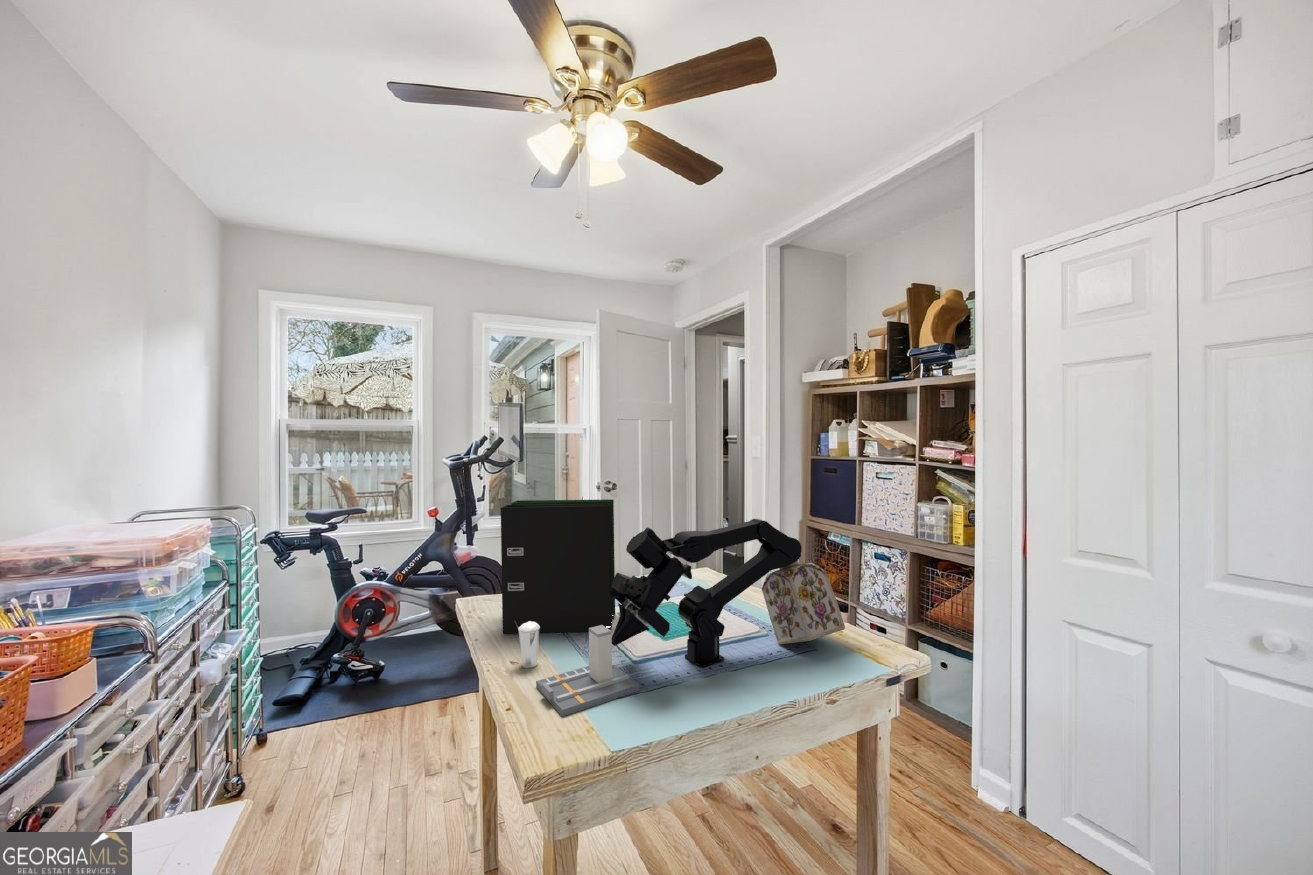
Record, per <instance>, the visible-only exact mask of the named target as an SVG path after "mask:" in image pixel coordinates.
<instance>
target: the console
mask: <svg viewBox="0 0 1313 875" xmlns="http://www.w3.org/2000/svg"><path fill="white" fill-rule="evenodd" d="M535 682H536V683H535V686H536V689H537V691H539V692H540V694H542V695H543V696H544V698H545V699H546V700H547V702H549V703H550V705H552V707H553V708H554V709H555V710H556V711H557V712H558V713H559V715H560V717H566V716H568V715H572V714H574V713H579V712H581V711H584V710H586V709H590V708H592V707H596V706H597V705H601V704H603V703H607V702H609V701H614V700H616V699H618V698H621V697H624V696H628V695H630V694H633V693H636V692H639V691H640V684H639V683H638V682H637V681H635V680H634V679H633V678H631V677H630V675H628V674H627V673H625V672H624V671H622V670H621V669H619V667H617V666H615V664H614V663H613V662H612V679H611V680H607V681H604V682H601V683H597V682H596V681H595V680H594V679H593V678H592V677H590V670H589V665H587V666H584V667H580V668H577V669H574V670H569V671H566V672H563V673H559V674H554V675H553V676H549V677H545V678H542V679H538V680H536V681H535Z"/></svg>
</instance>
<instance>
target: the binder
mask: <svg viewBox="0 0 1313 875" xmlns="http://www.w3.org/2000/svg"><path fill="white" fill-rule="evenodd" d="M614 502H615V501H614V499H544V500H543V499H538V500H537V499H533V500H531V499H530V500H529V499H526V500H525V499H523V500H522V499H521V500H515V501H513V502H511V503H510V504H505V505H504V506H502V507H500V542H501V543H500V548H501V549H500V552H501V557H500V558H501V604H502V605H501V606H502V607H501V610H502V616H501V618H502V619H501V620H502V635H503V636H504V635H506V636H507V635H508V636H509V635H519V630H518V627H520V626H521V625H522V624H523V623H527V622H528V621H531V622H536V623H537V624H539V626H540V633H539V635H540V634H544V635H545V634H552V635H553V634H589V628H591V627H595V626H600V625H603V626H605V627H606V626H611V628H608V629H609V630H611V631H612V628H613V620H615V616H616V599H615V598H614V597H613V596H612V595H611V594H610V593H611V592H612V591H613V590H614V588H612V587H611V586H612V583H613V581H614V578H615V576H616V571H615V570H616V568H615V561H616V560H615V519H614V518H615V512H614V511H615V510H614V509H615V507H614ZM612 615H614V616H612ZM515 621H516V623H517V625H518V627H517V625H516V623H515ZM611 622H612V623H611Z"/></svg>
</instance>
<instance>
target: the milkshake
mask: <svg viewBox="0 0 1313 875" xmlns="http://www.w3.org/2000/svg"><path fill="white" fill-rule="evenodd" d="M515 623H516V621H515ZM516 625H517V623H516ZM517 627H518V625H517ZM518 630H519V634H518V638H519V645H520V647H519V648H520V655H521V664H522V668H524V669H532V668H535V667H536V666H538V664H539V663H538V660H539V645H540V644H539V643H540V634H539V633H540V626H539V624H537V623H536V622H531V621H528V622H527V623H523V624H522V625H521V626H520V627H518Z"/></svg>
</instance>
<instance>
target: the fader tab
mask: <svg viewBox="0 0 1313 875" xmlns="http://www.w3.org/2000/svg"><path fill="white" fill-rule="evenodd" d="M612 636H613V634H612V629H611V630H609V629H608V628H606V627H605V626H603V625H600V626H595V627H591V628H589V633H588V645H589V646H588V651H589V652H588V653H589V656H588V658H589V659H588V661H589V662H588V663H589V664H588V666H589V670H590V677H592V678H593V679H594V680H595V681H596V682H597V683H601V682H604V681H607V680H611V679H612V663H613V647H612V646H613V645H612Z"/></svg>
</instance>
